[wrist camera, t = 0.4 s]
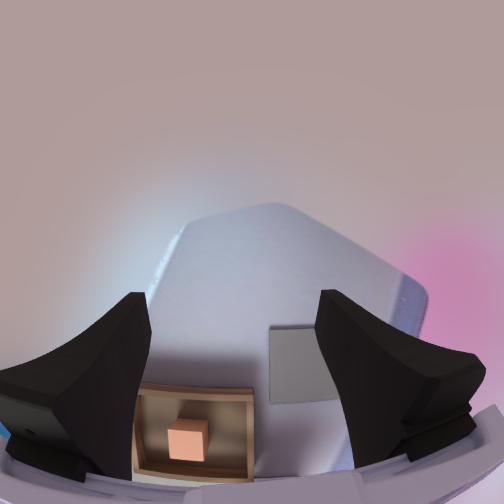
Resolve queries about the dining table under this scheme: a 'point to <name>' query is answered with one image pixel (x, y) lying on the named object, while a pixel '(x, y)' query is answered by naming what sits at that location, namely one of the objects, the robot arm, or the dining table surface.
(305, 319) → the dining table surface
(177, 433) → the terracotta block
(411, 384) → the robot arm
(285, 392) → the slate mat
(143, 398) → the walnut box
